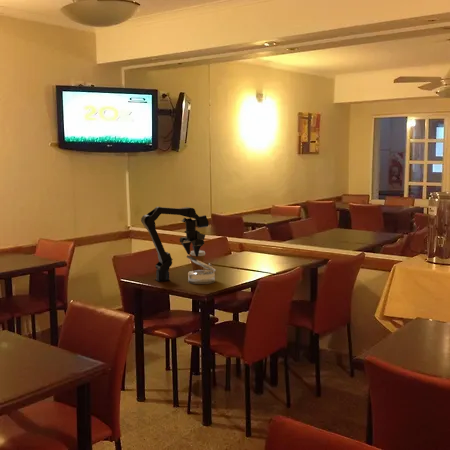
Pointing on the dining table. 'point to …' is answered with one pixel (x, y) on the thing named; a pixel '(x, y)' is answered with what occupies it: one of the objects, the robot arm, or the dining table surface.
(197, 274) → the pot
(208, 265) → the lid
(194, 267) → the disposable coffee cup
